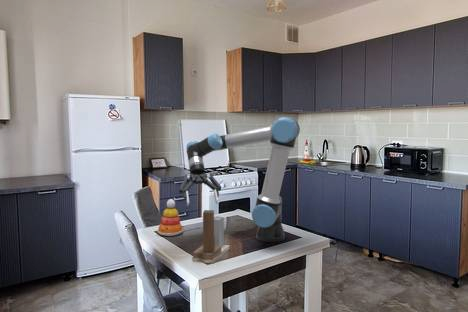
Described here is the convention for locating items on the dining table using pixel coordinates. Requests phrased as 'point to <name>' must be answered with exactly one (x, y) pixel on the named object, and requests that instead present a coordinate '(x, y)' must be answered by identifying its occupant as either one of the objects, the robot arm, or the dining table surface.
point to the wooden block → (208, 231)
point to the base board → (223, 249)
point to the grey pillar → (219, 231)
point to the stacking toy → (170, 221)
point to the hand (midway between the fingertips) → (202, 203)
